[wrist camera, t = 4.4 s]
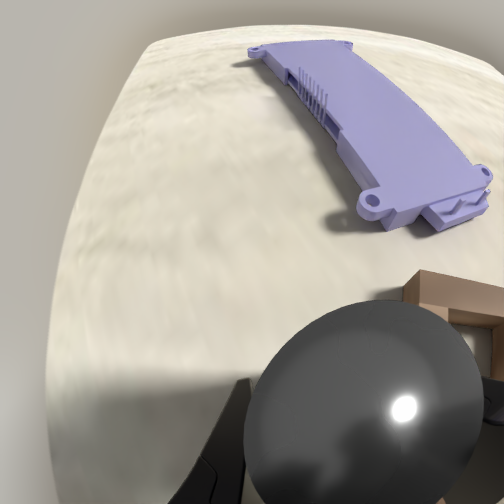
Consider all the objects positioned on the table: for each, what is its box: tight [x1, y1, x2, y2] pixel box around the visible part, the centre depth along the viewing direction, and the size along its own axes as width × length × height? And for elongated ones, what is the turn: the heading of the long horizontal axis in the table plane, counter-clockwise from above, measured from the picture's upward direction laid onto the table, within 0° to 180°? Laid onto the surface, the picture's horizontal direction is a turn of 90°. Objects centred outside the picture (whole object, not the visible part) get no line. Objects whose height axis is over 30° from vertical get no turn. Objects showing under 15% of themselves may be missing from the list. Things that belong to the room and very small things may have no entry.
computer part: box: [247, 40, 493, 232], centre depth 23 cm, size 30×4×15 cm
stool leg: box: [243, 300, 484, 504], centre depth 8 cm, size 4×4×12 cm
